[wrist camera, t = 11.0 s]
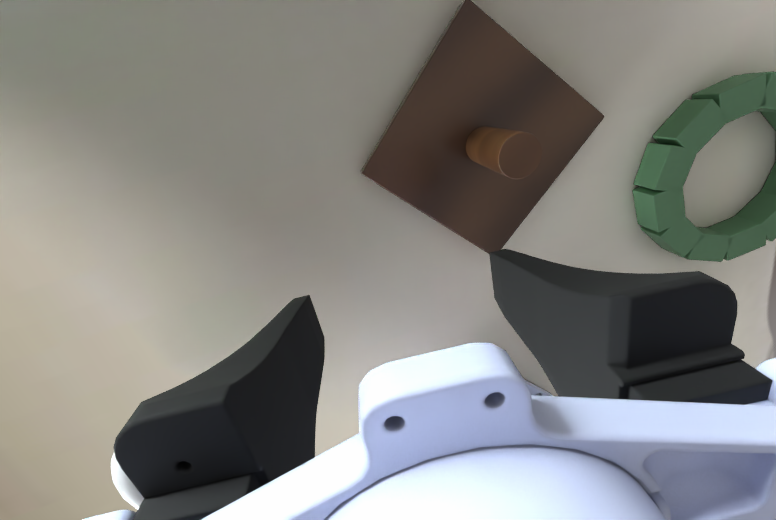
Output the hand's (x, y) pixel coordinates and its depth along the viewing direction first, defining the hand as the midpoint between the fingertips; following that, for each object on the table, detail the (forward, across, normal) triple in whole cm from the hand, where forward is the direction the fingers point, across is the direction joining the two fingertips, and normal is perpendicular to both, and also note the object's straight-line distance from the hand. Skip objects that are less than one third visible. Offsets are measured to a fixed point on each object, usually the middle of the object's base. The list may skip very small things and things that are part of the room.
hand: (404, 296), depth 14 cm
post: (+9, -6, -4) cm, 12 cm away
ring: (+9, -22, +2) cm, 24 cm away
